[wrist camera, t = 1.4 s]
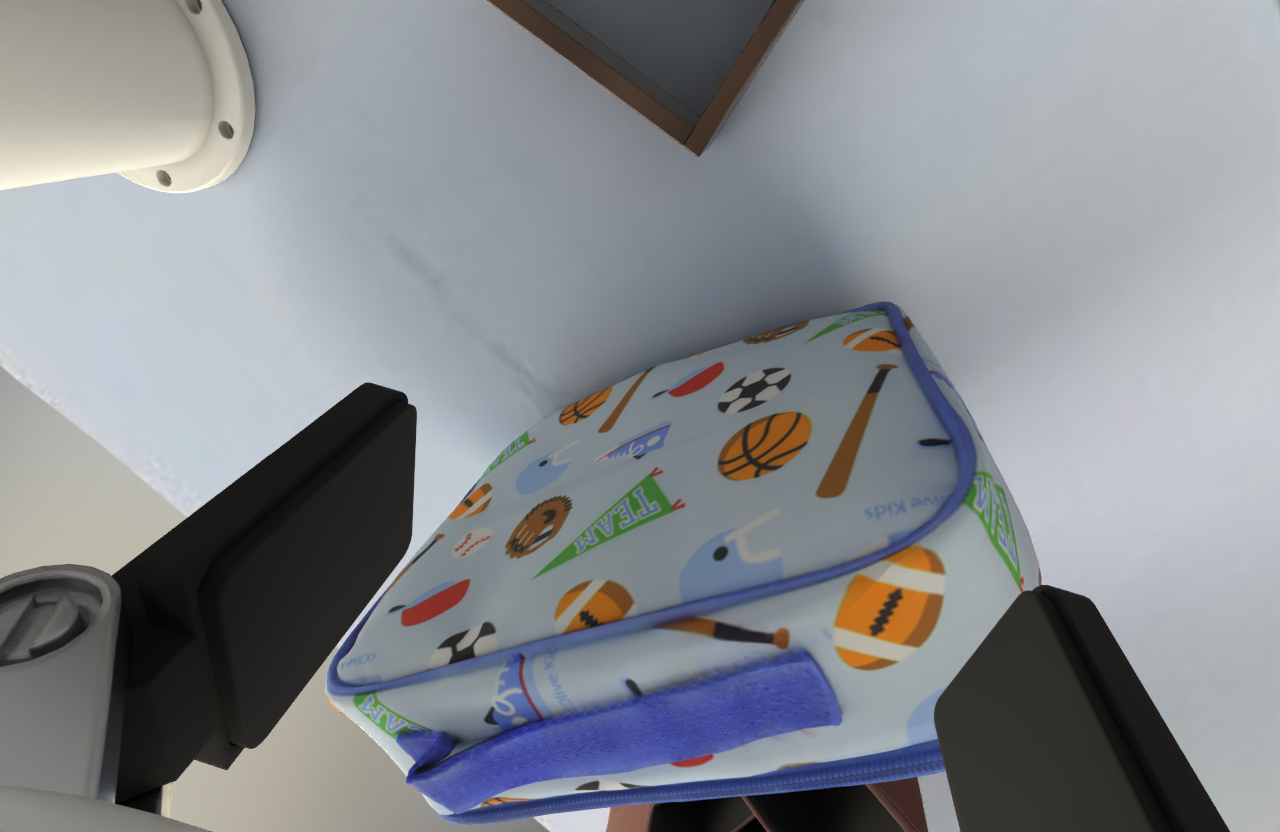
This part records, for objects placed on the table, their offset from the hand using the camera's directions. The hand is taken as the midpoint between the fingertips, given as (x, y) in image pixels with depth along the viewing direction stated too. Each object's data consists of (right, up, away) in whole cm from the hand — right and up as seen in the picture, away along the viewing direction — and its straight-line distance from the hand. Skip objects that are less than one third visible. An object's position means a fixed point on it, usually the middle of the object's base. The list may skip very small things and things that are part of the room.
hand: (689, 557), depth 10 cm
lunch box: (+2, +1, +28) cm, 28 cm away
